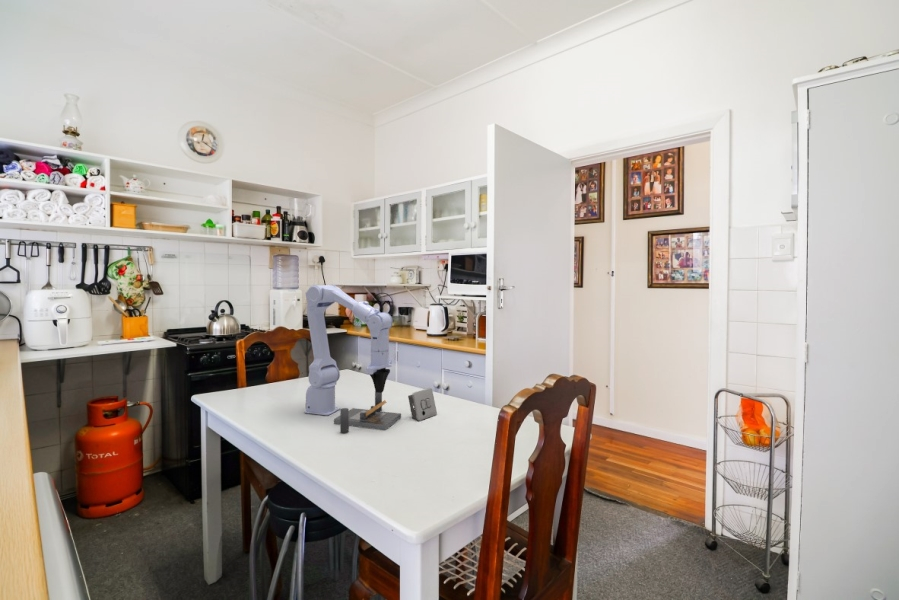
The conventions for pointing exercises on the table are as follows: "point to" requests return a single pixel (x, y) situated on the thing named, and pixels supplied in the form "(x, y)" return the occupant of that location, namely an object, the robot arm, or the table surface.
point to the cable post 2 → (378, 400)
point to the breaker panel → (371, 419)
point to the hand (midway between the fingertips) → (379, 392)
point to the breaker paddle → (374, 408)
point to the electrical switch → (422, 404)
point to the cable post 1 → (344, 420)
